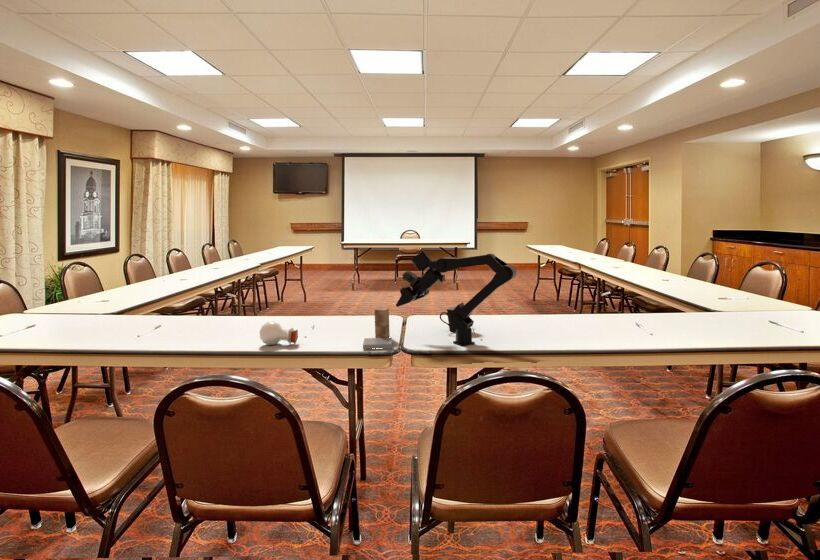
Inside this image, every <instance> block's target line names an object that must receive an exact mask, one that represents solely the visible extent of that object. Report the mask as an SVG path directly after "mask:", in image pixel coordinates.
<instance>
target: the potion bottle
mask: <svg viewBox="0 0 820 560" xmlns="http://www.w3.org/2000/svg"><path fill="white" fill-rule="evenodd" d="M298 331H299V330H298V329H296V330H294V327H292V328H290V329H284V328H283V327H282V326H281V324H279V323H278V322H275V321H267V322H266V323H264V324H263V325H261V328H260V330H259V339H260V340H261V341H262V343H263V344H265V345H268V346H274V345H275V346H276V345H277V344H279V343H280V342H281V341H283V342H287V343H288V344H289V345H291V344H294V345H296V343H297V340H298V337H299V332H298Z"/></svg>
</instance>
